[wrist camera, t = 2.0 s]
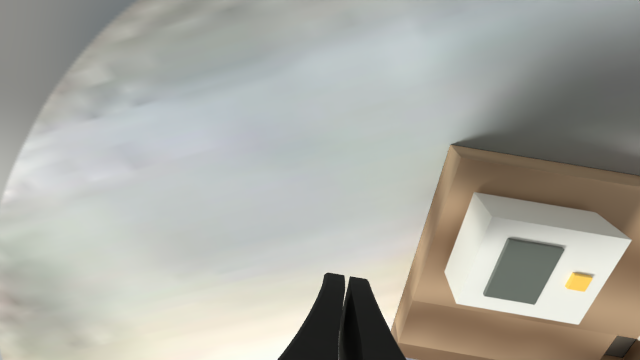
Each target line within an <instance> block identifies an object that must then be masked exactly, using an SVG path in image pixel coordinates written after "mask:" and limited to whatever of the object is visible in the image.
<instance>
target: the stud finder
mask: <svg viewBox="0 0 640 360" xmlns="http://www.w3.org/2000/svg"><path fill="white" fill-rule="evenodd" d="M631 241H632V240H631V239H630V238H629V237H627V236H626V235H625V234H624V233H622V232H621V231H620V230H618V229H617V228H616V227H614V226H613V225H612V224H610V223H609V222H608V221H607V220H605V219H604V218H603V217H601V216H600V215H599V214H597V213H596V212H591V211H585V210H579V209H573V208H567V207H561V206H555V205H549V204H543V203H537V202H531V201H525V200H519V199H513V198H507V197H501V196H495V195H489V194H483V193H477V192H474V194H473V196H472V199H471V202H470V204H469V207H468V210H467V212H466V215H465V218H464V220H463V223H462V226H461V228H460V231H459V234H458V236H457V239H456V242H455V245H454V247H453V250H452V253H451V255H450V258H449V261H448V263H447V266H446V269H445V271H444V272H445V275H446V278H447V280H448V283H449V286H450V288H451V291H452V294H453V296H454V299H455V302H456V304H461V305H466V306H472V307H478V308H484V309H490V310H496V311H501V312H507V313H513V314H519V315H525V316H530V317H536V318H542V319H548V320H554V321H560V322H565V323H571V324H577V325H579V323H580V322H581V320H582V319H583V317H584V315H585V314H586V312H587V311H588V309H589V307H590V306H591V304H592V303H593V301H594V300H595V298H596V296H597V295H598V293H599V292H600V290H601V288H602V287H603V285H604V284H605V282H606V280H607V279H608V277H609V276H610V274H611V273H612V271H613V269H614V268H615V266H616V265H617V263H618V261H619V260H620V258H621V257H622V255H623V253H624V252H625V250H626V249H627V247H628V246H629V244H630V242H631Z"/></svg>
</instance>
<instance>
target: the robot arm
mask: <svg viewBox="0 0 640 360" xmlns="http://www.w3.org/2000/svg"><path fill="white" fill-rule="evenodd" d="M344 294H345V278H344V275H339V274H333V273H326V274H325V275H324V279H323V284H322V287H321V290H320V292H319V294H318V297H317V299H316V301H315V303H314V305H313V307H312V309H311V311H310V313H309V315H308V316H307V318H306V320H305V321H304V323H303V324H302V326H301V328H300V329H299V331H298V332H297V334H296V335H295V337H294V338H293V340H292V341H291V343H290V344H289V345H288V347H287V348H286V349H285V351H284V352H283V353H282V355H281V356H280V357H279V358H278V360H417V359H411V358H405V356H404V354H403V353H402V351H401V349H400V348H399V346H398V344H397V342H396V341H395V339H394V337H393V335H392V333H391V331H390V329H389V327H388V325H387V323H386V321H385V319H384V317H383V315H382V313H381V311H380V309H379V307H378V304H377V302H376V300H375V297H374V295H373V292H372V290H371V287H370V284H369V282H368V280H367V279H362V278H356V277H351V276H350V279H349V284H348V288H347V292H346V297H345V301H344ZM343 302H344V305H343ZM342 309H343V310H342ZM339 331H340V332H339ZM338 343H339V346H338Z"/></svg>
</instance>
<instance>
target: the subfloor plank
mask: <svg viewBox="0 0 640 360" xmlns="http://www.w3.org/2000/svg"><path fill="white" fill-rule="evenodd" d="M474 192H477V193H483V194H489V195H495V196H501V197H507V198H513V199H519V200H525V201H531V202H537V203H543V204H549V205H555V206H561V207H567V208H573V209H579V210H585V211H591V212H596V213H597V214H599V215H600V216H601V217H603V218H604V219H605V220H607V221H608V222H609V223H610V224H612V225H613V226H614V227H616V228H617V229H618V230H620V231H621V232H622V233H624V234H625V235H626V236H627V237H629V238H630V239H631V240H632V241H631V242H630V244H629V246H628V247H627V249H626V250H625V252H624V253H623V255H622V257H621V258H620V260H619V261H618V263H617V265H616V266H615V268H614V269H613V271H612V273H611V274H610V276H609V277H608V279H607V280H606V282H605V284H604V285H603V287H602V288H601V290H600V292H599V293H598V295H597V296H596V298H595V300H594V301H593V303H592V304H591V306H590V307H589V309H588V311H587V312H586V314H585V315H584V317H583V319H582V320H581V322H580V323H579V325H577V324H571V323H565V322H560V321H554V320H548V319H542V318H536V317H530V316H525V315H519V314H513V313H507V312H501V311H496V310H490V309H484V308H478V307H472V306H466V305H461V304H456V302H455V299H454V296H453V294H452V291H451V288H450V286H449V283H448V280H447V278H446V275H445V272H444V271H445V269H446V266H447V263H448V261H449V258H450V255H451V253H452V250H453V247H454V245H455V242H456V239H457V236H458V234H459V231H460V228H461V226H462V223H463V220H464V218H465V215H466V212H467V210H468V207H469V204H470V202H471V199H472V196H473V194H474ZM391 333H392V335H393V337H394V339H395V341H396V342H397V344H398V346H399V348H400V349H401V351H402V353H403V354H404V356H405V358H411V359H417V360H640V176H637V175H631V174H625V173H619V172H613V171H607V170H601V169H595V168H589V167H583V166H577V165H570V164H564V163H558V162H552V161H546V160H540V159H534V158H528V157H522V156H516V155H510V154H504V153H498V152H492V151H485V150H479V149H473V148H467V147H461V146H455V145H450V147H449V151H448V154H447V157H446V160H445V163H444V166H443V169H442V172H441V176H440V179H439V182H438V185H437V188H436V191H435V194H434V197H433V201H432V204H431V207H430V210H429V213H428V216H427V219H426V222H425V226H424V229H423V232H422V235H421V238H420V241H419V244H418V247H417V251H416V254H415V257H414V260H413V263H412V266H411V269H410V272H409V276H408V279H407V282H406V285H405V288H404V291H403V294H402V298H401V301H400V304H399V307H398V310H397V313H396V316H395V319H394V323H393V326H392V329H391ZM616 336H623V337H629V338H635V339H637V340H636V341H635V342H634V344H633V345H632V346H631V348H630V349H629V350H628V352H627V353H626V354H625V356H624V357H623V358H620V357H614V356H608V355H604V353H605V352H606V351H607V349H608V348H609V346H610V345H611V344H612V342H613V341H614V339H615V338H616Z"/></svg>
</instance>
